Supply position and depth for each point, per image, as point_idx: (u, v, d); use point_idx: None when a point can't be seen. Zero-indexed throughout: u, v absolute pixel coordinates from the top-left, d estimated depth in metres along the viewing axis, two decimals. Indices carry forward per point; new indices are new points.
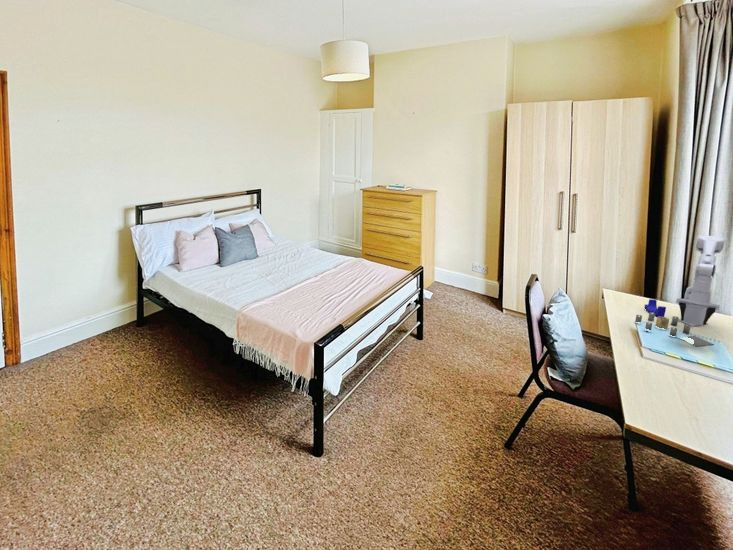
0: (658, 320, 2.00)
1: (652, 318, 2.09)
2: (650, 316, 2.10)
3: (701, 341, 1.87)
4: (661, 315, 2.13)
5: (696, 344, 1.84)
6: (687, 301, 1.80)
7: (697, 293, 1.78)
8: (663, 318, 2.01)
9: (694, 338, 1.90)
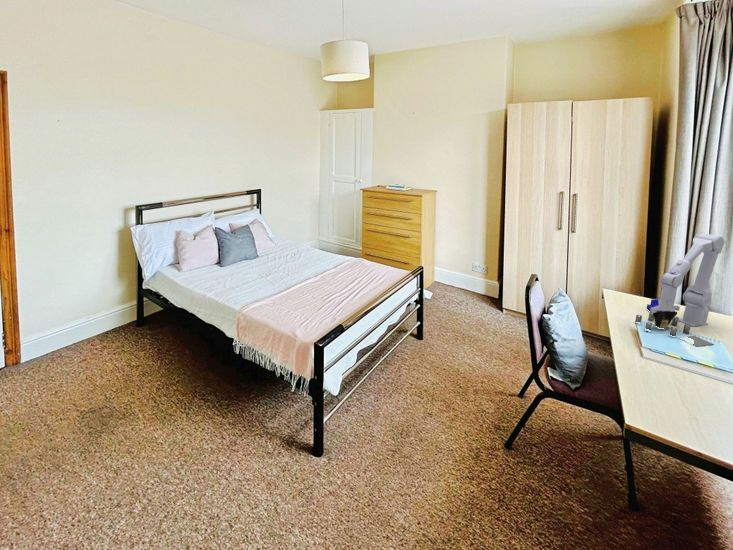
0: None
1: (652, 318, 2.09)
2: (650, 316, 2.10)
3: (701, 341, 1.87)
4: None
5: (696, 344, 1.84)
6: (662, 310, 1.96)
7: (670, 301, 1.95)
8: (663, 317, 2.01)
9: (694, 338, 1.90)
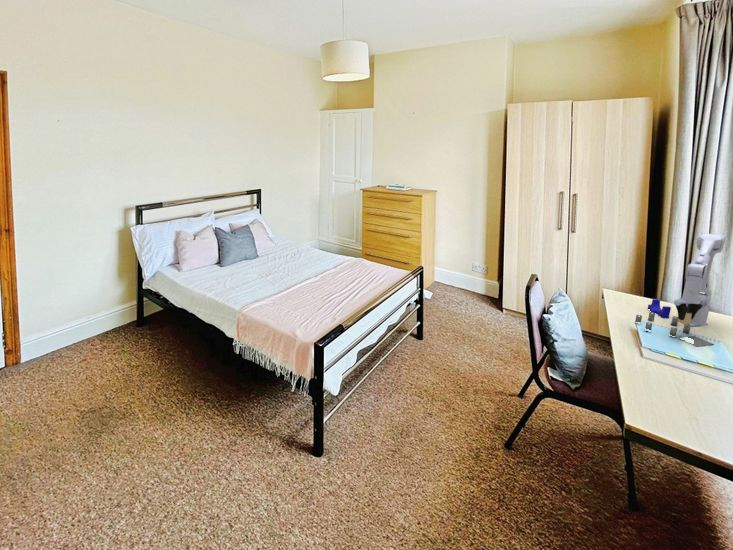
0: None
1: (652, 318, 2.09)
2: (650, 316, 2.10)
3: (701, 341, 1.87)
4: (666, 315, 2.13)
5: (696, 344, 1.84)
6: (687, 302, 1.86)
7: (695, 293, 1.84)
8: (687, 311, 1.91)
9: (694, 338, 1.90)
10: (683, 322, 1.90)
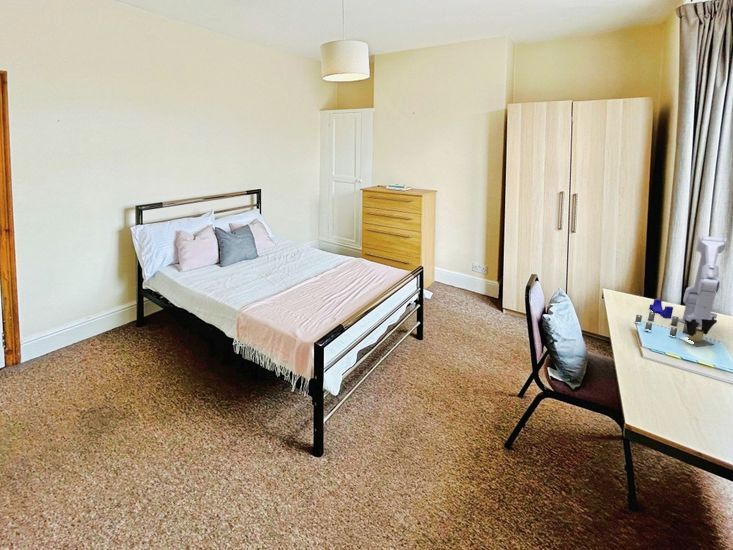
0: None
1: (652, 318, 2.09)
2: (650, 316, 2.10)
3: (701, 341, 1.87)
4: (668, 315, 2.13)
5: (696, 344, 1.84)
6: (699, 318, 1.82)
7: (707, 309, 1.80)
8: (698, 329, 1.87)
9: None
10: (694, 340, 1.86)
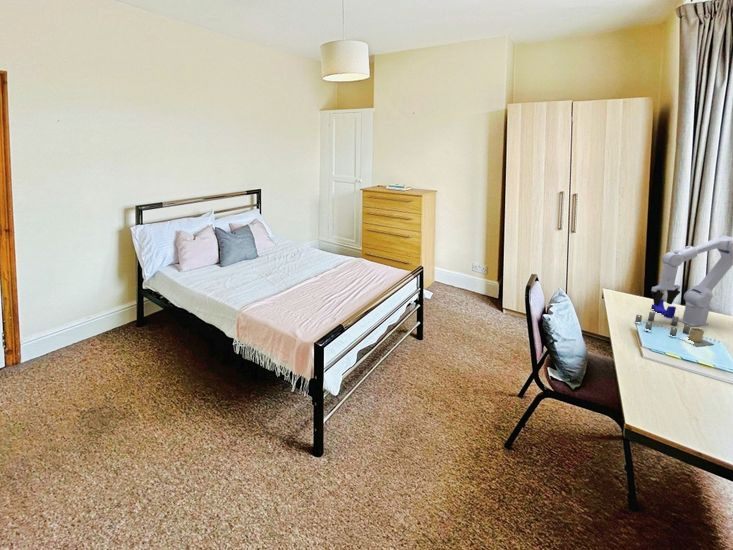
0: (692, 332, 1.87)
1: (652, 318, 2.09)
2: (650, 316, 2.10)
3: (701, 341, 1.87)
4: (671, 315, 2.13)
5: (696, 344, 1.84)
6: (663, 288, 2.01)
7: (671, 280, 1.99)
8: (698, 329, 1.87)
9: None
10: (694, 340, 1.86)
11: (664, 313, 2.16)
